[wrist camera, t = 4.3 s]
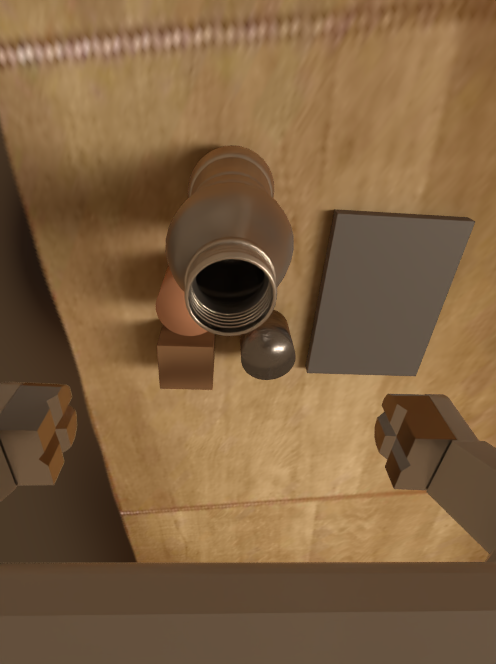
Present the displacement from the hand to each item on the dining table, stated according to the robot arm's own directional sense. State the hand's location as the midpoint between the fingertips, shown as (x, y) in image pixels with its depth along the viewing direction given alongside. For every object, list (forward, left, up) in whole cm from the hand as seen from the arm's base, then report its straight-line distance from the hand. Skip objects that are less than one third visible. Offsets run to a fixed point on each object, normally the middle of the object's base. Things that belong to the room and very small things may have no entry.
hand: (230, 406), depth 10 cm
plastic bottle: (0, 0, -26) cm, 26 cm away
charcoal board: (+10, +15, -26) cm, 32 cm away
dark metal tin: (+14, +4, -26) cm, 30 cm away
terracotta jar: (+8, -3, -26) cm, 27 cm away
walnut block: (+15, -4, -26) cm, 31 cm away
